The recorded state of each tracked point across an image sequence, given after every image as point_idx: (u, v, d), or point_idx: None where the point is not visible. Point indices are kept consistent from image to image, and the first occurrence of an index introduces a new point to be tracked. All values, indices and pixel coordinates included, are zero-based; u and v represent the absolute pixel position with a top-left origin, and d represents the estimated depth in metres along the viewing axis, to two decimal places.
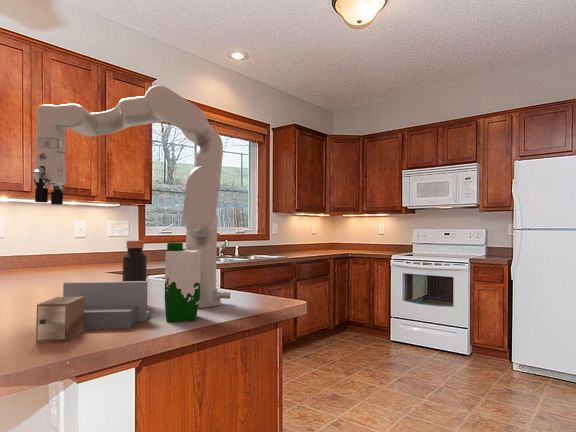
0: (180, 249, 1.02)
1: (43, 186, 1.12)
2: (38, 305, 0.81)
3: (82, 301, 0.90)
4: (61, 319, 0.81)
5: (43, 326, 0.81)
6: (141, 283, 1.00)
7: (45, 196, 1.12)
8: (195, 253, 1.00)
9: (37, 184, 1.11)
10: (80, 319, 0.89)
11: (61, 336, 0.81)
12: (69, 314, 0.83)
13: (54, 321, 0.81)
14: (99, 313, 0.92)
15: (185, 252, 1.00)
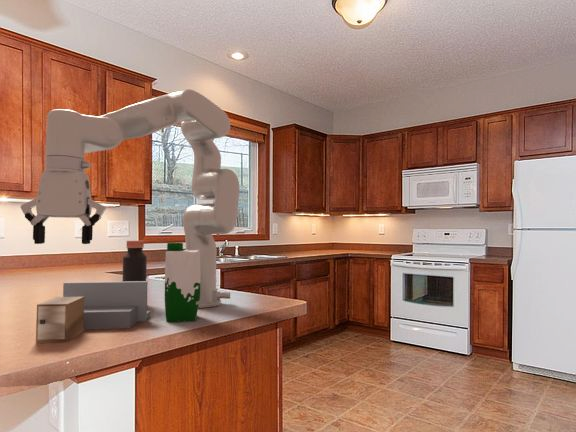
0: (180, 249, 1.02)
1: (94, 223, 0.88)
2: (38, 305, 0.81)
3: (82, 301, 0.90)
4: (61, 319, 0.81)
5: (43, 326, 0.81)
6: (141, 283, 1.00)
7: None
8: (195, 253, 1.00)
9: (95, 221, 0.87)
10: (80, 319, 0.89)
11: (61, 336, 0.81)
12: (69, 314, 0.83)
13: (54, 321, 0.81)
14: (99, 313, 0.92)
15: (185, 252, 1.00)
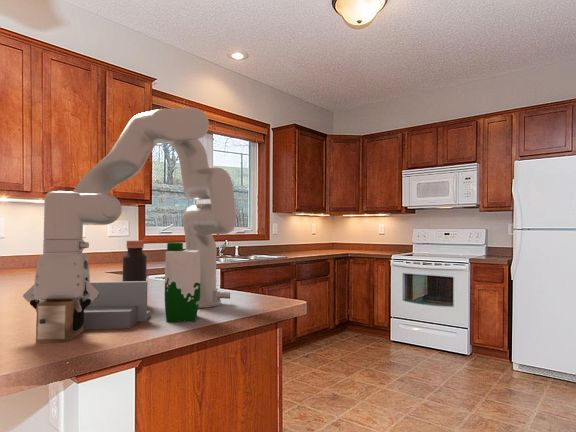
0: (180, 249, 1.02)
1: (85, 308, 0.87)
2: (38, 305, 0.81)
3: None
4: (61, 319, 0.81)
5: (43, 326, 0.81)
6: (141, 283, 1.00)
7: None
8: (195, 253, 1.00)
9: (86, 306, 0.86)
10: None
11: (61, 336, 0.81)
12: (69, 314, 0.83)
13: (54, 320, 0.81)
14: (99, 313, 0.92)
15: (185, 252, 1.00)
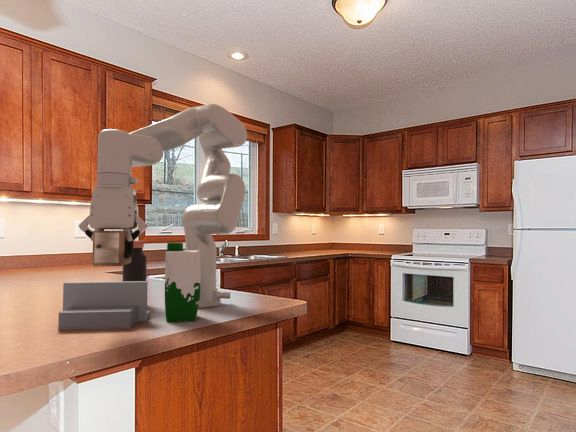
0: (180, 249, 1.02)
1: (134, 239, 0.94)
2: (94, 231, 0.88)
3: None
4: (115, 244, 0.88)
5: (99, 250, 0.88)
6: (141, 283, 1.00)
7: None
8: (195, 253, 1.00)
9: (136, 237, 0.93)
10: None
11: (115, 260, 0.88)
12: (122, 241, 0.90)
13: (109, 246, 0.88)
14: (99, 313, 0.92)
15: (185, 252, 1.00)
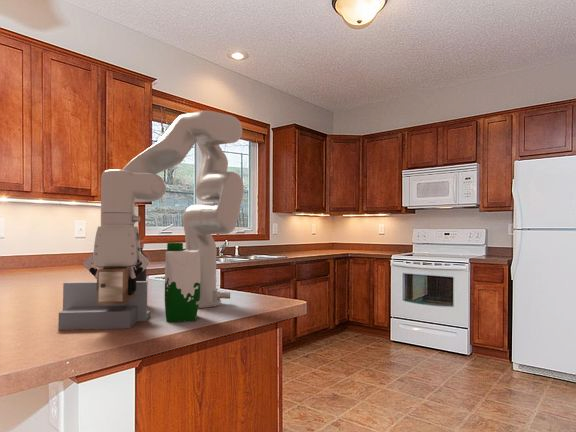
0: (180, 249, 1.02)
1: None
2: (98, 271, 0.90)
3: None
4: (119, 283, 0.91)
5: (103, 289, 0.90)
6: (141, 283, 1.00)
7: None
8: (195, 253, 1.00)
9: None
10: None
11: (119, 298, 0.90)
12: (125, 279, 0.92)
13: (113, 285, 0.90)
14: (99, 313, 0.92)
15: (185, 252, 1.00)
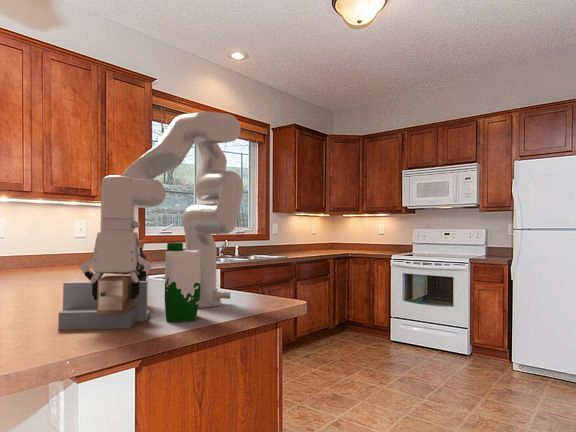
0: (180, 249, 1.02)
1: (140, 279, 0.97)
2: (98, 280, 0.90)
3: None
4: (119, 292, 0.91)
5: (103, 298, 0.90)
6: (141, 283, 1.00)
7: None
8: (195, 253, 1.00)
9: (142, 278, 0.96)
10: None
11: (119, 307, 0.91)
12: (125, 288, 0.92)
13: (113, 294, 0.90)
14: None
15: (185, 252, 1.00)
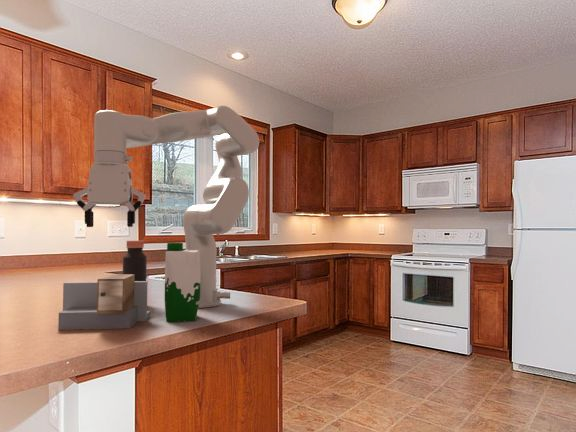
0: (180, 249, 1.02)
1: (136, 209, 1.02)
2: (98, 280, 0.90)
3: (133, 278, 0.99)
4: (119, 292, 0.91)
5: (103, 298, 0.90)
6: (141, 283, 1.00)
7: None
8: (195, 253, 1.00)
9: (137, 207, 1.01)
10: (132, 294, 0.98)
11: (119, 307, 0.91)
12: (125, 288, 0.92)
13: (113, 294, 0.90)
14: None
15: (185, 252, 1.00)
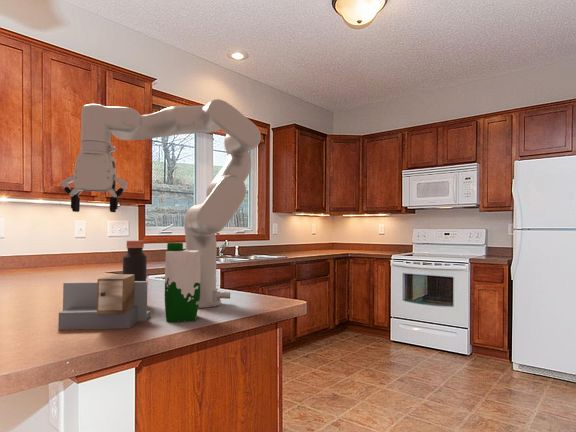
0: (180, 249, 1.02)
1: (119, 196, 1.10)
2: (98, 280, 0.90)
3: (133, 278, 0.99)
4: (119, 292, 0.91)
5: (103, 298, 0.90)
6: (141, 283, 1.00)
7: None
8: (195, 253, 1.00)
9: (119, 194, 1.08)
10: (132, 294, 0.98)
11: (119, 307, 0.91)
12: (125, 288, 0.92)
13: (113, 294, 0.90)
14: None
15: (185, 252, 1.00)
